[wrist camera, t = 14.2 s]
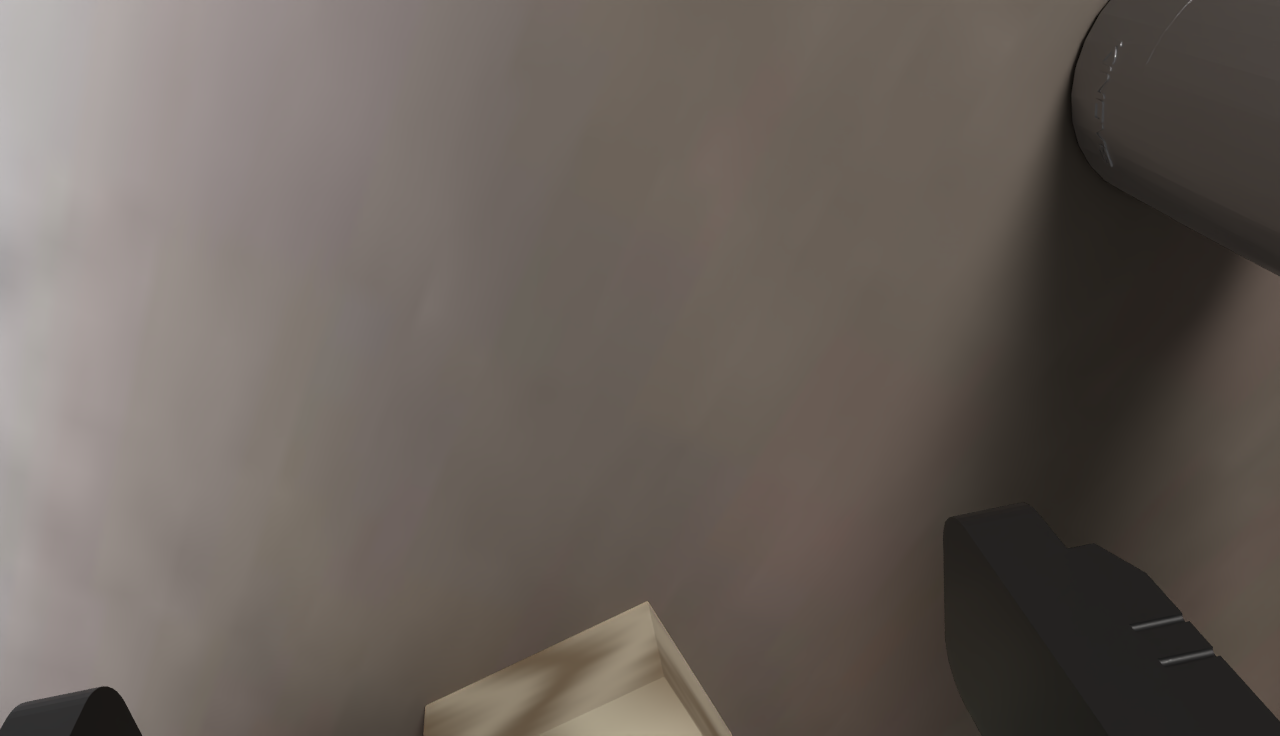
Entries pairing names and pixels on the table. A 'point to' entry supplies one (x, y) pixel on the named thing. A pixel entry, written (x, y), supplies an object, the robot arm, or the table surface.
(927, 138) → the table surface
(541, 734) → the maple block
